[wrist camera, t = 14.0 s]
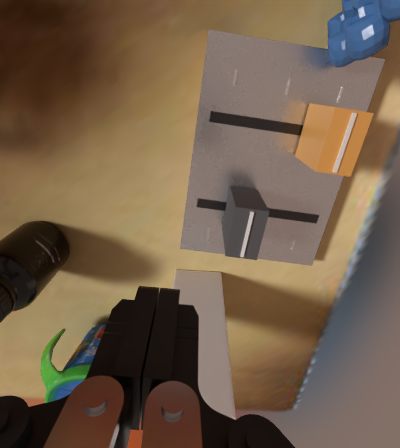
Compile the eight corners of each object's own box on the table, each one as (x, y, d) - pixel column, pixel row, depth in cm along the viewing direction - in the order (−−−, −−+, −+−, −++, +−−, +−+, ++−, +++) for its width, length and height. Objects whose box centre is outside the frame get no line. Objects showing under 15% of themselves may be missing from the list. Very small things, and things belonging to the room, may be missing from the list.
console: (208, 33, 27) (208, 29, 26) (373, 61, 28) (386, 59, 26) (181, 240, 37) (179, 248, 35) (306, 256, 37) (312, 266, 36)
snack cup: (175, 352, 45) (168, 422, 35) (127, 383, 48) (108, 454, 38) (97, 288, 40) (65, 348, 31) (49, 326, 43) (6, 391, 33)
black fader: (230, 186, 31) (235, 207, 25) (257, 189, 31) (269, 212, 26) (221, 228, 33) (225, 257, 28) (248, 231, 33) (257, 261, 28)
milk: (217, 307, 41) (232, 517, 21) (174, 305, 41) (147, 514, 21) (221, 270, 38) (242, 471, 18) (174, 268, 38) (145, 467, 18)
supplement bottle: (78, 233, 36) (24, 295, 25) (63, 274, 39) (8, 347, 28) (22, 209, 35) (-60, 264, 24) (10, 254, 38) (-68, 322, 27)
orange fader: (309, 103, 28) (336, 107, 22) (340, 108, 28) (375, 113, 22) (294, 156, 30) (316, 172, 24) (323, 160, 30) (351, 177, 24)
